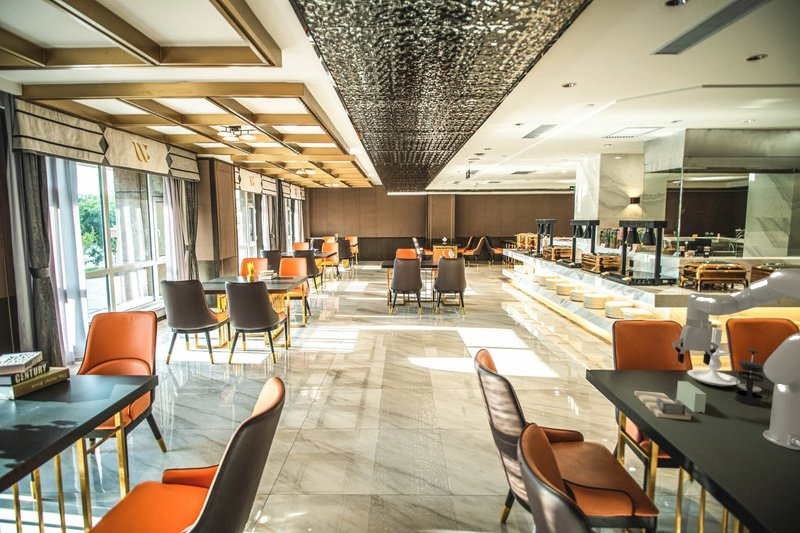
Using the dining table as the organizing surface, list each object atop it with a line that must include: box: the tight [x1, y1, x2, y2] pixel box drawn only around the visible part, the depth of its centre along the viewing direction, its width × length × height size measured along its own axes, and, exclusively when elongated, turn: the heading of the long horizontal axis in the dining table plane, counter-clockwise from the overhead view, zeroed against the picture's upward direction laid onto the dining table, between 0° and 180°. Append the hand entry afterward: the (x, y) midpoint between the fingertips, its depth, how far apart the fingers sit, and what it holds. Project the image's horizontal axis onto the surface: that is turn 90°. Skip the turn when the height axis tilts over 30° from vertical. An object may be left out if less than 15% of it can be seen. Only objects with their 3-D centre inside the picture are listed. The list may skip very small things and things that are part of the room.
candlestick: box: [686, 327, 741, 387], centre depth 201 cm, size 21×25×28 cm
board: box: [634, 390, 692, 421], centre depth 173 cm, size 23×12×6 cm, turn 171°
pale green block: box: [676, 380, 707, 414], centre depth 174 cm, size 14×4×8 cm, turn 171°
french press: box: [734, 349, 771, 407], centre depth 177 cm, size 12×9×23 cm
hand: (693, 363), depth 173 cm, fingers open, 9 cm apart
